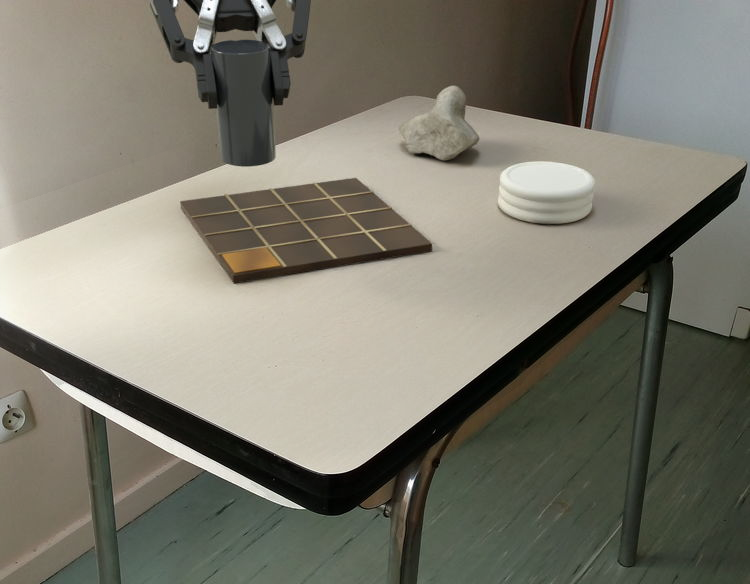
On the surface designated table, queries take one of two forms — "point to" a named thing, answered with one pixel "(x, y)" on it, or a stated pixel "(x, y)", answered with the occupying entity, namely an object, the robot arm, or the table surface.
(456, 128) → the stone
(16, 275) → the table surface
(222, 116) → the glossy charcoal cylinder
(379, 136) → the table surface
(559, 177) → the white ribbed disc
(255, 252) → the board
